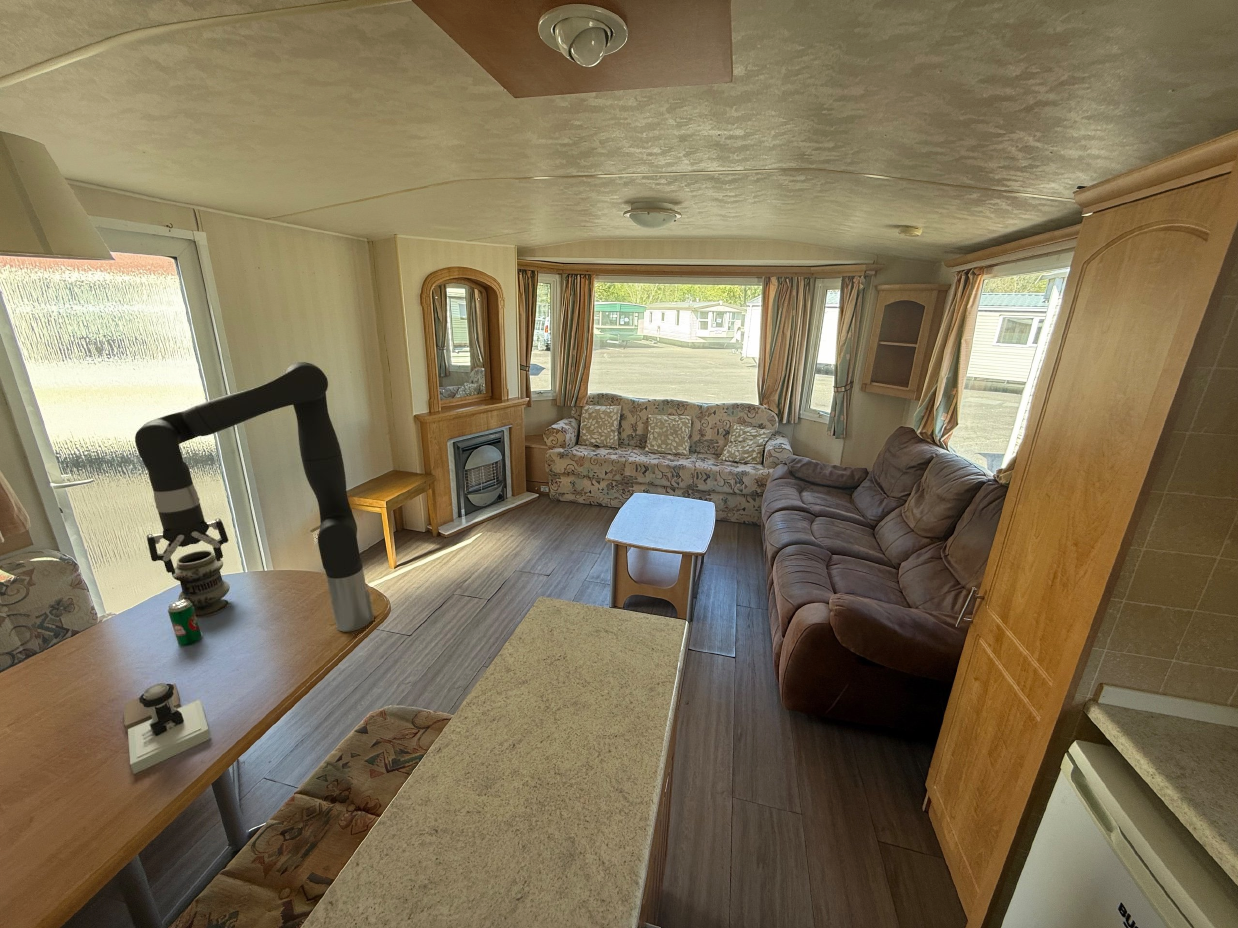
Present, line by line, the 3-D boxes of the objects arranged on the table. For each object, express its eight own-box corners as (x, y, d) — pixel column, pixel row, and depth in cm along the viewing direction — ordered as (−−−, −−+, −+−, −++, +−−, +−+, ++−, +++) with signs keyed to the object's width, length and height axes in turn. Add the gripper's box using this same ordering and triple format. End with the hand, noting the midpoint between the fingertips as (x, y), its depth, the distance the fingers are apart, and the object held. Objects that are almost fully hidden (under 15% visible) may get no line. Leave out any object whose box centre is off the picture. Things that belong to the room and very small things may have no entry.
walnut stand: (177, 689, 119) (175, 683, 118) (181, 710, 112) (179, 703, 112) (126, 710, 112) (123, 703, 112) (127, 732, 106) (124, 725, 106)
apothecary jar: (212, 620, 145) (197, 566, 140) (172, 620, 145) (155, 566, 140) (243, 598, 156) (230, 547, 151) (206, 597, 157) (191, 546, 151)
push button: (149, 746, 100) (135, 706, 97) (138, 735, 102) (124, 696, 99) (189, 723, 106) (177, 685, 103) (177, 713, 108) (165, 676, 105)
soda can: (174, 644, 135) (162, 606, 131) (195, 633, 139) (184, 596, 136) (185, 648, 133) (173, 610, 129) (206, 638, 137) (195, 600, 134)
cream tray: (202, 707, 113) (199, 698, 112) (210, 738, 105) (207, 728, 104) (131, 738, 105) (127, 728, 104) (133, 773, 97) (130, 763, 96)
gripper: (214, 493, 122) (229, 551, 127) (136, 508, 112) (155, 571, 117) (219, 501, 117) (235, 561, 122) (138, 518, 107) (158, 583, 112)
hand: (196, 566), depth 120 cm, fingers open, 8 cm apart
